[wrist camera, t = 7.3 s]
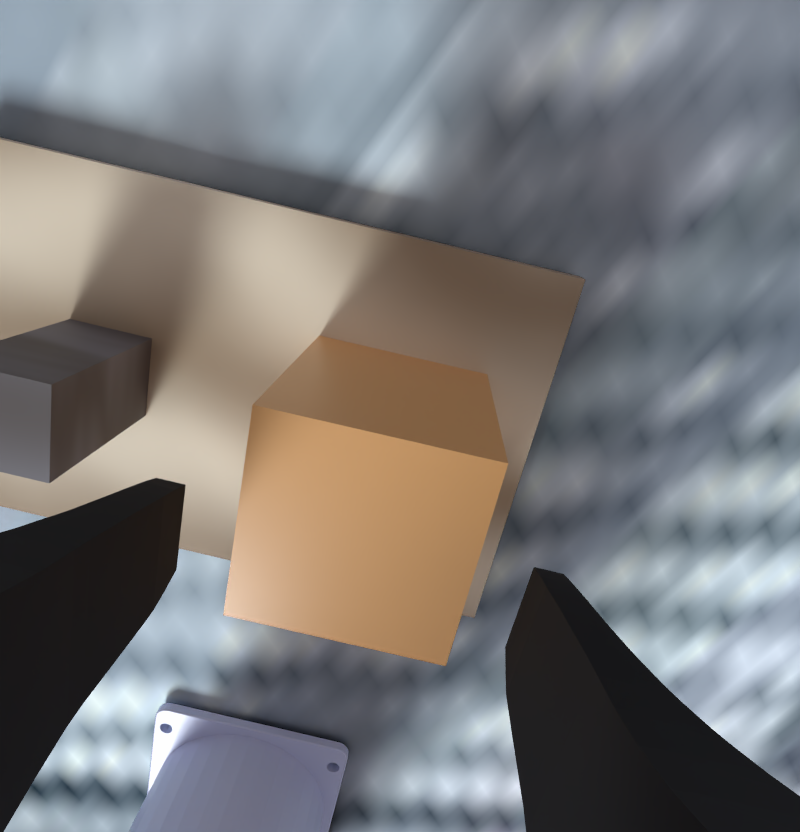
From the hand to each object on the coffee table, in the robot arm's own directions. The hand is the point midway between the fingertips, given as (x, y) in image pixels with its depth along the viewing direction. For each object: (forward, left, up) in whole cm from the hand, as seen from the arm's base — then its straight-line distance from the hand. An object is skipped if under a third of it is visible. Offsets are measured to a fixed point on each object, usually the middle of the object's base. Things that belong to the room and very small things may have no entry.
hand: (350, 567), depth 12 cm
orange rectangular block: (0, 0, -7) cm, 7 cm away
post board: (0, +4, -8) cm, 9 cm away
